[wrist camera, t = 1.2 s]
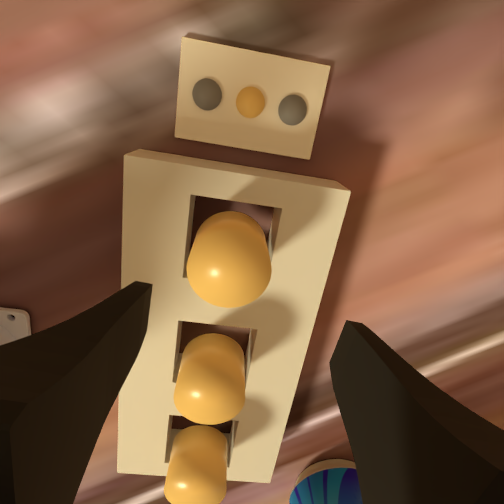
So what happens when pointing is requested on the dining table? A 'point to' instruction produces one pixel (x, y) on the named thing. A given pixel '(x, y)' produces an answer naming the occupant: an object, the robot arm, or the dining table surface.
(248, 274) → the button
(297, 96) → the card
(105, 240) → the dining table surface
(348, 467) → the beer can
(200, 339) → the button
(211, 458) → the button
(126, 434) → the board
